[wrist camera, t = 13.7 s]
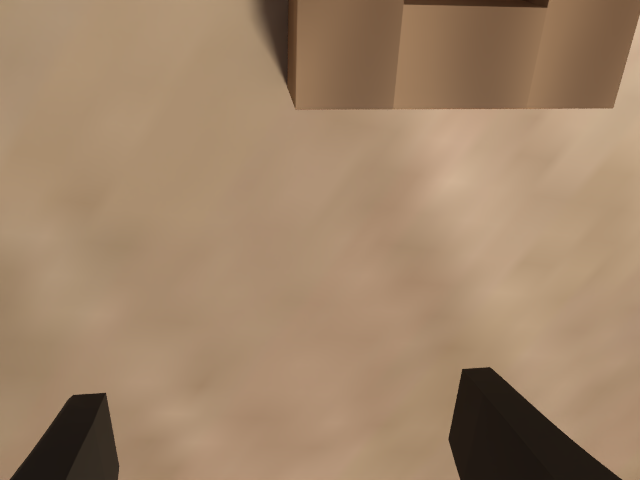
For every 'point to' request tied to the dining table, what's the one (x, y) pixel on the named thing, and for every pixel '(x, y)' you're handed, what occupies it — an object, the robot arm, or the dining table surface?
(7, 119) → the dining table surface
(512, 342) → the dining table surface
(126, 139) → the dining table surface
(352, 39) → the pin block
